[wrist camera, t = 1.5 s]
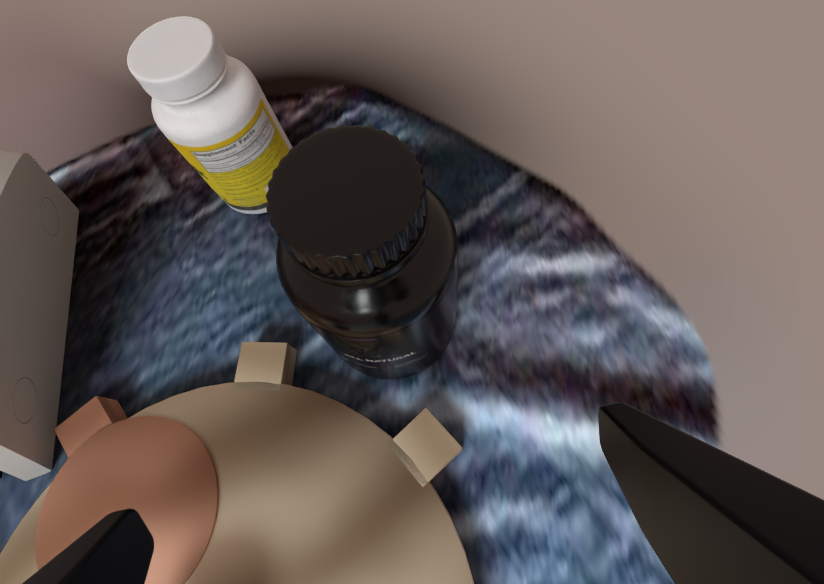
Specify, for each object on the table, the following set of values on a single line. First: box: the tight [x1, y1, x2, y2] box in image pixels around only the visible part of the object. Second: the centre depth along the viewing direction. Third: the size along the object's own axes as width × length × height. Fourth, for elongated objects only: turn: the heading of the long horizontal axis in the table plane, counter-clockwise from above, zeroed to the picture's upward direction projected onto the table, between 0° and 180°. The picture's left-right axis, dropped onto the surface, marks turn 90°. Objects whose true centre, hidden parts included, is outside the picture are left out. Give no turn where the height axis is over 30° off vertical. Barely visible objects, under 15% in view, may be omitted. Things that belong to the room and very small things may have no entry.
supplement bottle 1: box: [127, 16, 293, 214], centre depth 24 cm, size 5×5×10 cm
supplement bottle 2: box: [266, 125, 458, 379], centre depth 18 cm, size 7×7×12 cm
